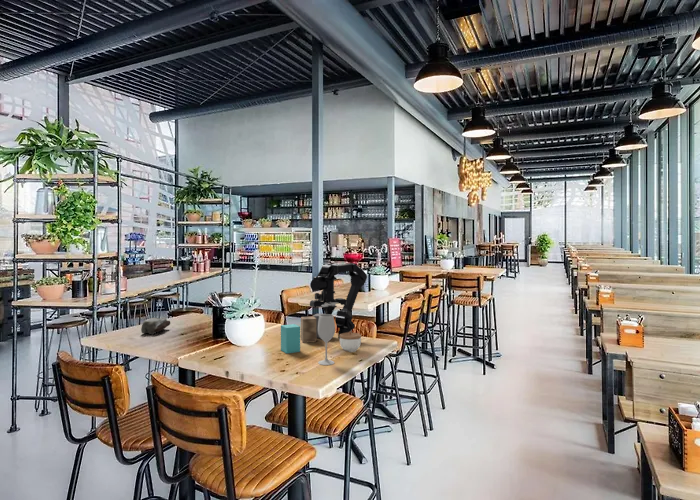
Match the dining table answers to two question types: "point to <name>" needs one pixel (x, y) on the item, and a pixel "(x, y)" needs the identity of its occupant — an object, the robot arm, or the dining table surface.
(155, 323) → the rock
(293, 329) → the teal block
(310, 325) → the walnut block
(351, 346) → the lidded jar
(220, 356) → the dining table surface
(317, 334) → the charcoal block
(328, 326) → the wineglass
